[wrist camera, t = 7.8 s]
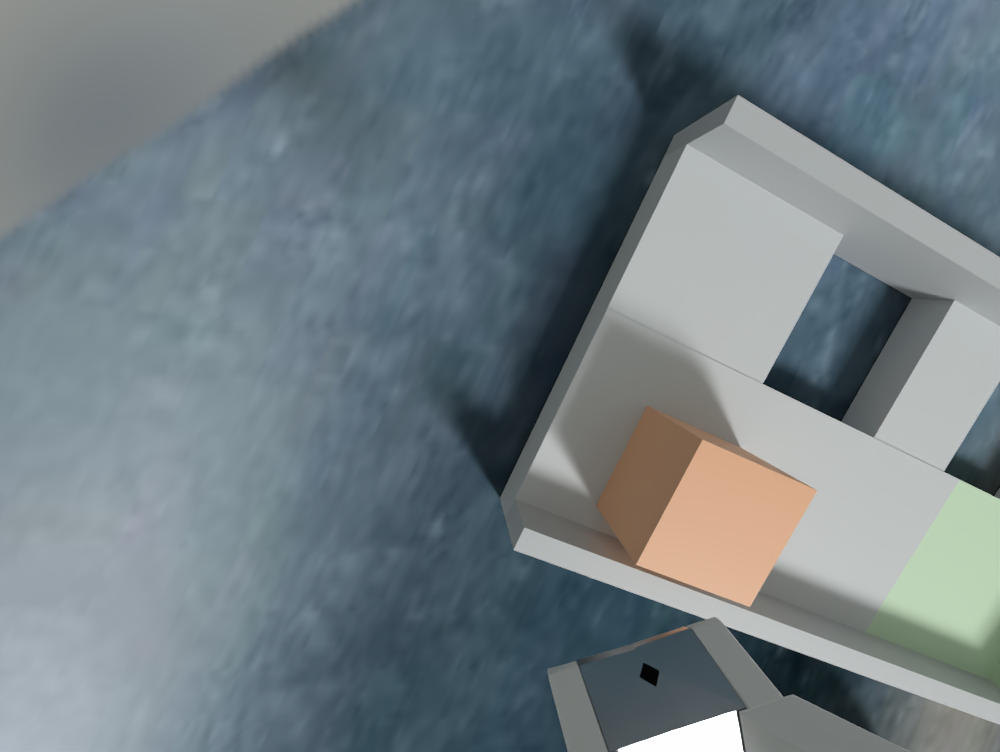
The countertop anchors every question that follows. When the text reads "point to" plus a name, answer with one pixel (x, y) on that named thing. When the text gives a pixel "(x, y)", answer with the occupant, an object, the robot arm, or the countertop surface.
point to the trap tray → (792, 407)
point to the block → (701, 507)
